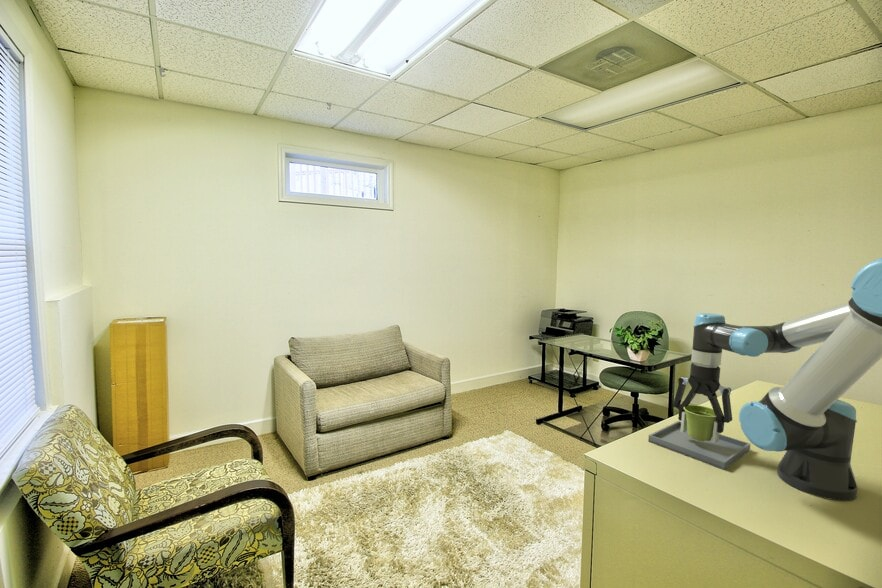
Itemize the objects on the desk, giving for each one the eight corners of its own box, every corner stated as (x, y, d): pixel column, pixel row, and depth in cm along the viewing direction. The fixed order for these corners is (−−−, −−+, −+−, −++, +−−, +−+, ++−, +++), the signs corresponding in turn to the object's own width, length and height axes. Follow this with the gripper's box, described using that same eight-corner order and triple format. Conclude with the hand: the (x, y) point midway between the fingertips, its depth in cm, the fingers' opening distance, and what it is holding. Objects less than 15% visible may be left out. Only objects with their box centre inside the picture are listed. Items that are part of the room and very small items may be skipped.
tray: (677, 426, 139) (678, 420, 139) (750, 450, 123) (750, 443, 123) (648, 441, 127) (648, 435, 127) (724, 470, 111) (724, 462, 111)
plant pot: (716, 447, 118) (719, 418, 118) (679, 438, 124) (681, 410, 123) (718, 436, 126) (721, 409, 125) (683, 428, 131) (685, 402, 131)
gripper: (751, 370, 117) (744, 446, 119) (674, 355, 133) (669, 422, 136) (742, 374, 112) (734, 453, 114) (663, 358, 129) (658, 427, 131)
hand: (699, 436), depth 125 cm, fingers closed on plant pot, 8 cm apart
